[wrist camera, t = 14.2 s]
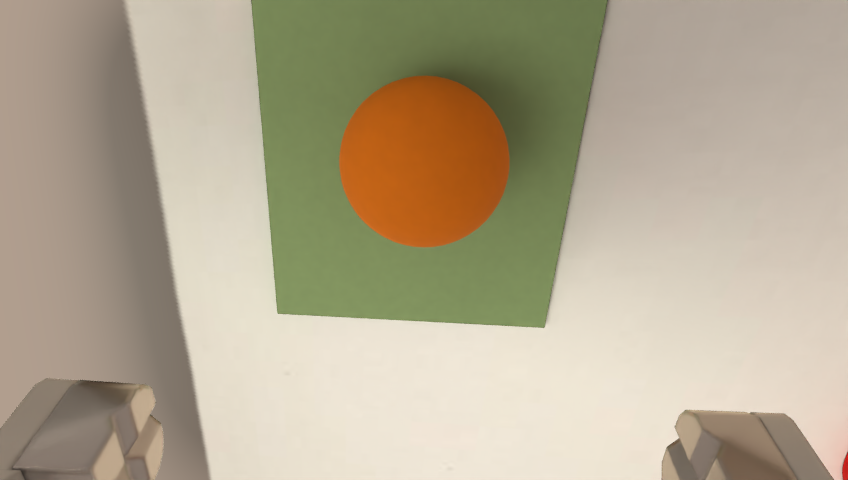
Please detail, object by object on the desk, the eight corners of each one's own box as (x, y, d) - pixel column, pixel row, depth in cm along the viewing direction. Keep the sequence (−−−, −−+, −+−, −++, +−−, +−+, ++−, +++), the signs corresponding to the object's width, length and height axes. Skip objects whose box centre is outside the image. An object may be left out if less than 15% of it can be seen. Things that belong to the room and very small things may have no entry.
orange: (320, 117, 22) (286, 181, 17) (441, 22, 21) (444, 63, 16) (411, 224, 24) (406, 309, 19) (529, 146, 23) (555, 217, 18)
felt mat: (239, -171, 18) (236, -173, 18) (633, -147, 18) (636, -147, 18) (278, 309, 27) (277, 313, 27) (543, 323, 27) (544, 328, 27)
